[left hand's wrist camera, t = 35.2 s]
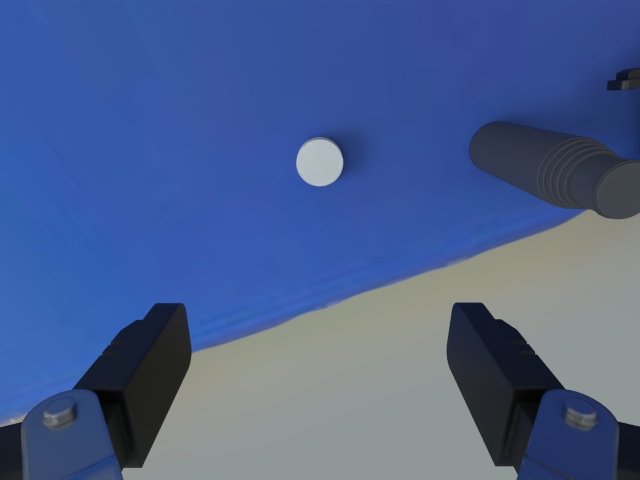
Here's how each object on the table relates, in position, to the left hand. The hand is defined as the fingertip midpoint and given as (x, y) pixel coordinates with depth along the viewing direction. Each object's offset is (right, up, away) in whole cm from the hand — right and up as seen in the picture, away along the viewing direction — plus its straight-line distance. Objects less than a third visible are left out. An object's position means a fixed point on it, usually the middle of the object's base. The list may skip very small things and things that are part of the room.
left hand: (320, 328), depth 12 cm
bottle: (+18, +12, +27) cm, 35 cm away
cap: (0, +10, +26) cm, 28 cm away
